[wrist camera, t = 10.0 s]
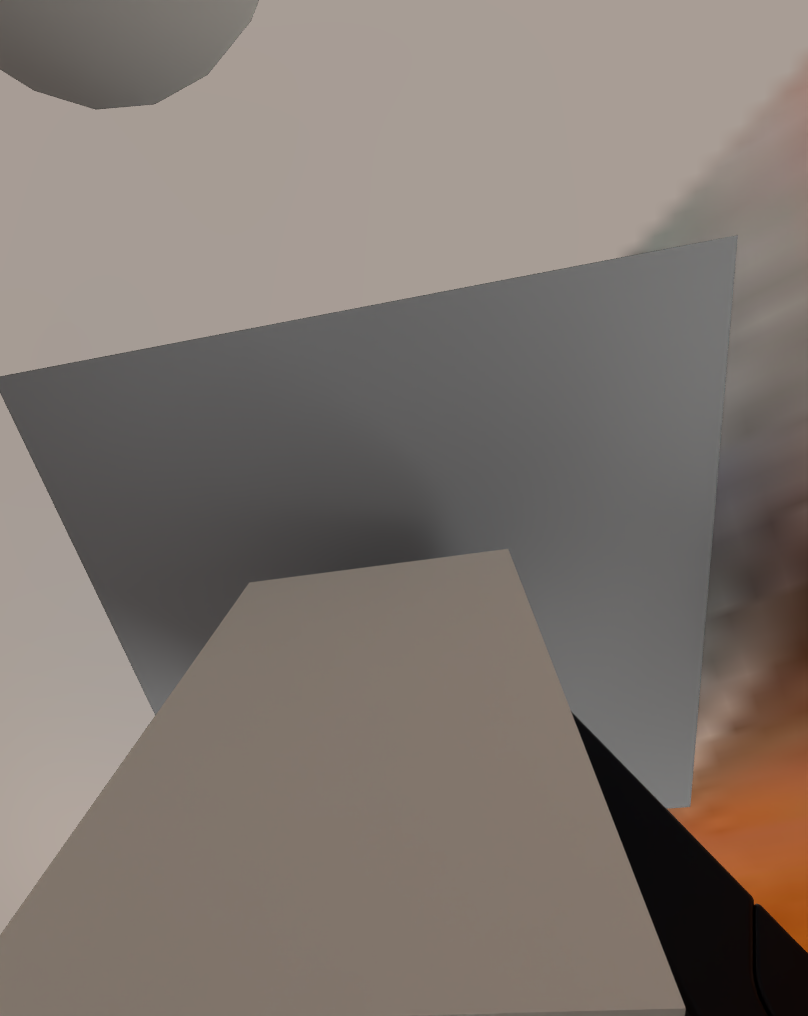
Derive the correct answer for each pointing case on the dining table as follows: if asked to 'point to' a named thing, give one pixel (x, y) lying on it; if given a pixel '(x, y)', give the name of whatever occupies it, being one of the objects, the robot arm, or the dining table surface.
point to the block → (350, 825)
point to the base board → (424, 471)
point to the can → (116, 46)
